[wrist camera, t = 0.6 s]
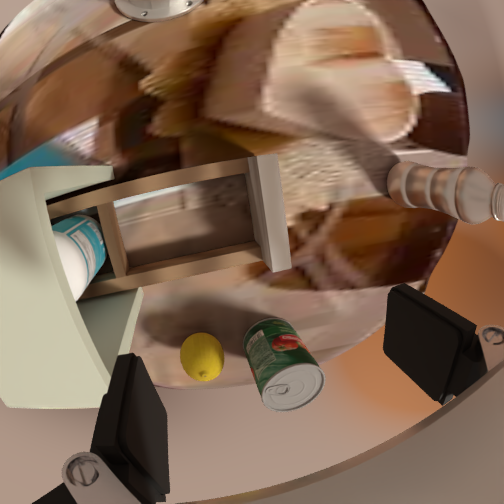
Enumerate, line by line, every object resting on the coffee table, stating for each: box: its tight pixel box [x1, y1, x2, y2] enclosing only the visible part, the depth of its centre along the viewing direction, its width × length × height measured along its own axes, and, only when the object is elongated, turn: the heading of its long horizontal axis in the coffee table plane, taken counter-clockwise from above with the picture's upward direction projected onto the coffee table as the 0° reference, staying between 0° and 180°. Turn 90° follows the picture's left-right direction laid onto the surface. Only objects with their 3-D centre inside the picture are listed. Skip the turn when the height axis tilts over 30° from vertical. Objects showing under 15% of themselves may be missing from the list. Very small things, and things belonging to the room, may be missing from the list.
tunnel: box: [0, 166, 144, 409], centre depth 21 cm, size 12×16×19 cm
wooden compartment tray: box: [47, 154, 291, 300], centre depth 28 cm, size 32×12×7 cm, turn 99°
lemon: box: [180, 333, 224, 381], centre depth 34 cm, size 6×6×8 cm
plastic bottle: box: [387, 161, 504, 224], centre depth 28 cm, size 6×7×20 cm
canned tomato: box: [243, 318, 325, 412], centre depth 35 cm, size 8×8×11 cm
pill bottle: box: [51, 215, 108, 302], centre depth 24 cm, size 8×7×14 cm
